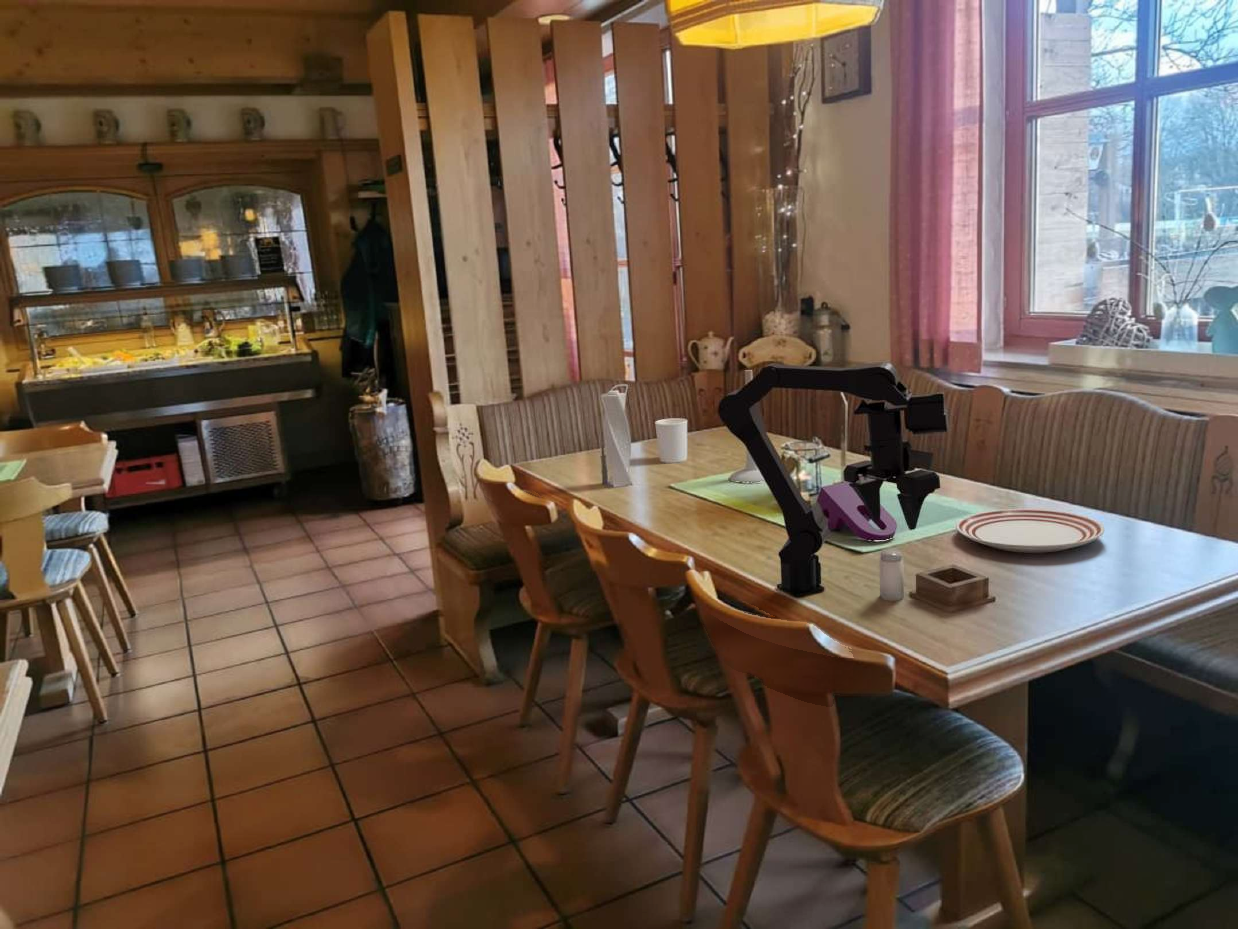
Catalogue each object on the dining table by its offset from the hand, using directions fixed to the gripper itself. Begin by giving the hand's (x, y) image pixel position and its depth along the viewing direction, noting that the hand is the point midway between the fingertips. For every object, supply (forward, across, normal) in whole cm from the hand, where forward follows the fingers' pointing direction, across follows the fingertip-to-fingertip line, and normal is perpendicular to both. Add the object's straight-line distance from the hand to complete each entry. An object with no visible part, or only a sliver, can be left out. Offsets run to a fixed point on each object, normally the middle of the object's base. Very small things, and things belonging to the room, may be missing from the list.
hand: (894, 524), depth 164 cm
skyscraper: (+7, +108, +6) cm, 109 cm away
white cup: (+7, +125, -20) cm, 127 cm away
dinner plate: (+15, +10, -40) cm, 44 cm away
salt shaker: (+13, +1, +2) cm, 13 cm away
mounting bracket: (+13, +34, -18) cm, 41 cm away
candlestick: (+10, +90, -26) cm, 94 cm away
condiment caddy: (+14, -6, -6) cm, 16 cm away
